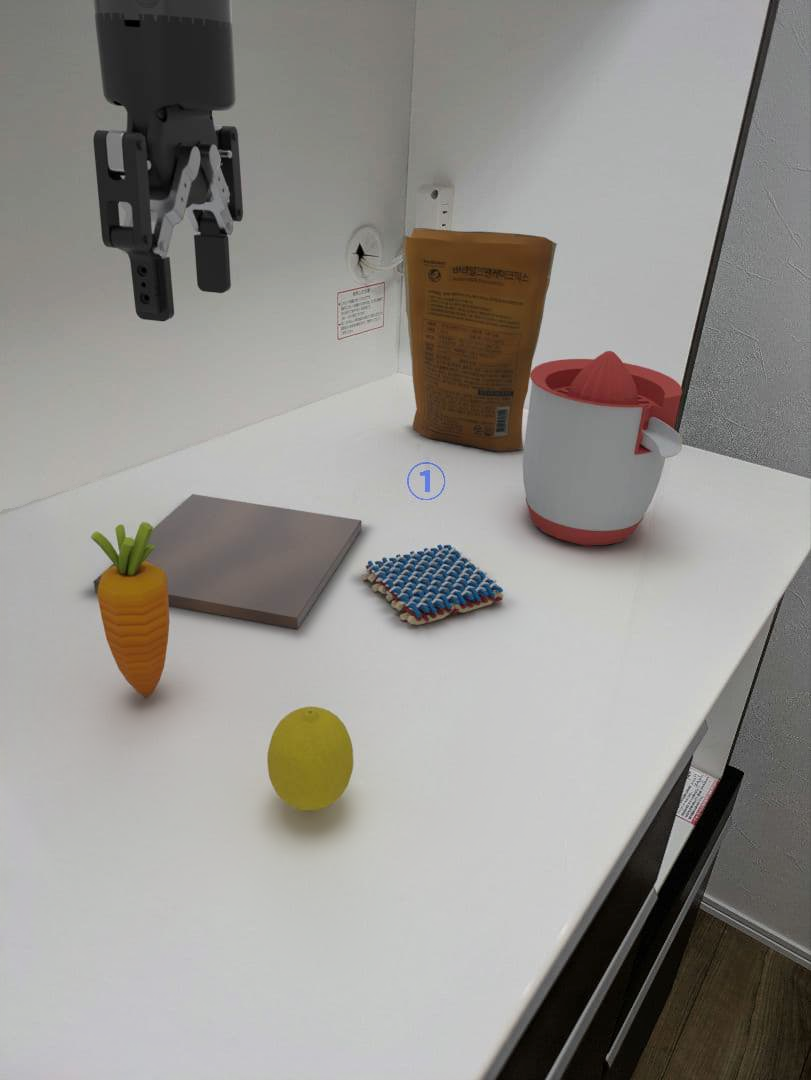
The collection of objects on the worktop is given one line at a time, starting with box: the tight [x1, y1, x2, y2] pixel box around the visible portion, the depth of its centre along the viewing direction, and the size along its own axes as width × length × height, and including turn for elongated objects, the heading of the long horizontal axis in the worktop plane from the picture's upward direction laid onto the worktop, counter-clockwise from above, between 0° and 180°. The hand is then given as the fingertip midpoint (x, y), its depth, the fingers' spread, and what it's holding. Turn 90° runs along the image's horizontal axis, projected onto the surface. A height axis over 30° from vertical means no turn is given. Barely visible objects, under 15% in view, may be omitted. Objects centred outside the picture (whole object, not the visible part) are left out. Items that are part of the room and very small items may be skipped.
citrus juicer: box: [522, 350, 683, 547], centre depth 89 cm, size 16×17×20 cm
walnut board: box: [93, 493, 363, 630], centre depth 84 cm, size 20×20×1 cm
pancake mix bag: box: [401, 227, 558, 453], centre depth 109 cm, size 7×19×28 cm, turn 67°
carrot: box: [90, 521, 170, 697], centre depth 61 cm, size 5×5×15 cm
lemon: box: [267, 706, 354, 812], centre depth 54 cm, size 6×6×8 cm
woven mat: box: [361, 543, 504, 626], centre depth 80 cm, size 10×11×2 cm
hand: (186, 304), depth 54 cm, fingers open, 8 cm apart
